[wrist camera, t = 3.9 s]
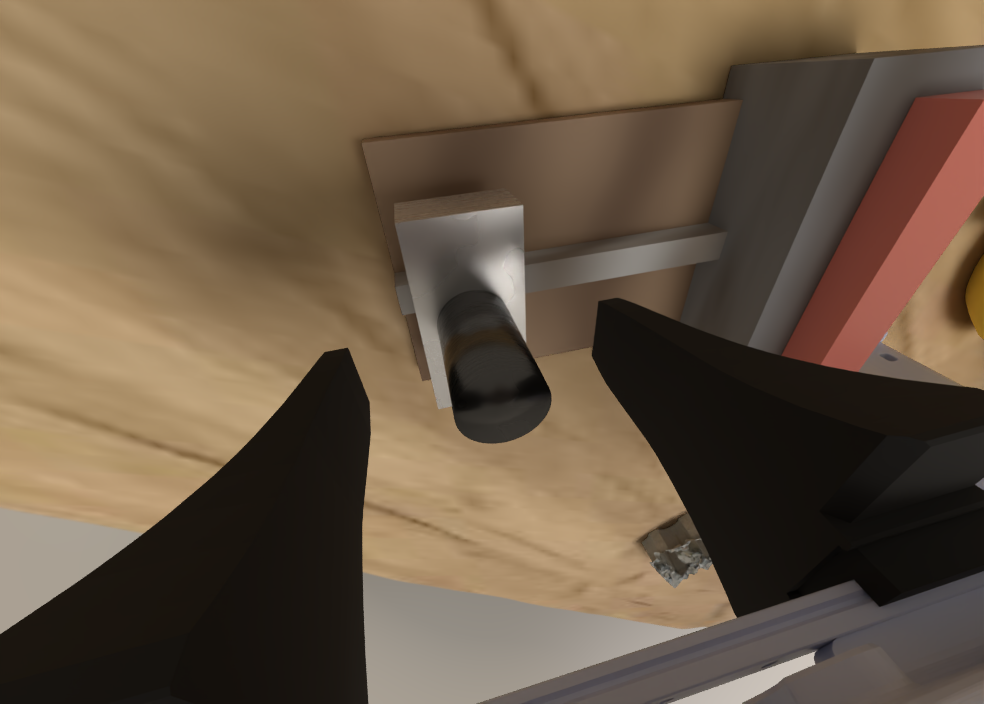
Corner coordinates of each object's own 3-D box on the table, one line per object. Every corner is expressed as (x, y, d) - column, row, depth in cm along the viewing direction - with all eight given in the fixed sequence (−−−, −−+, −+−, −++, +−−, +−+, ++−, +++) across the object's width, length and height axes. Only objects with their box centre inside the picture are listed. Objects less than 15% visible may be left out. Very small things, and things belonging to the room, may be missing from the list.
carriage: (496, 179, 13) (583, 260, 7) (506, 343, 17) (565, 477, 11) (393, 193, 12) (396, 292, 6) (430, 357, 16) (452, 505, 11)
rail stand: (858, 52, 14) (1040, 41, 10) (747, 317, 21) (828, 370, 17) (354, 102, 12) (335, 112, 8) (424, 382, 19) (433, 461, 15)
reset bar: (983, 89, 11) (1058, 90, 9) (819, 358, 17) (852, 379, 15) (916, 97, 10) (984, 99, 9) (774, 368, 16) (804, 391, 15)
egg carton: (732, 484, 35) (767, 525, 32) (740, 512, 40) (771, 550, 36) (633, 535, 37) (657, 578, 33) (652, 556, 41) (674, 596, 38)
